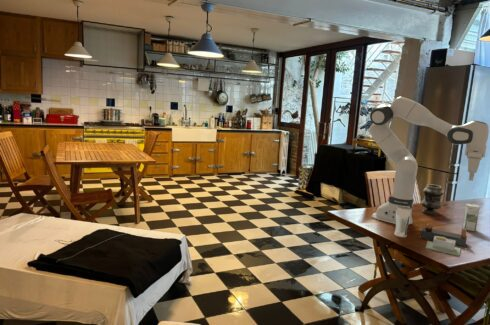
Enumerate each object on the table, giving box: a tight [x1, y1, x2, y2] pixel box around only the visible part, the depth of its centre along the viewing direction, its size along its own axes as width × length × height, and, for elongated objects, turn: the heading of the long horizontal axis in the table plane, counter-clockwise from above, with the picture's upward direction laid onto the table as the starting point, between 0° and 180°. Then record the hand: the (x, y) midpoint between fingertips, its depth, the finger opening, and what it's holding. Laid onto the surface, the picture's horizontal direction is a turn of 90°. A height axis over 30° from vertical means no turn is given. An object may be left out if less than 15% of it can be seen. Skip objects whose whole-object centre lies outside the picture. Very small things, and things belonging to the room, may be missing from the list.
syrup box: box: [462, 202, 480, 232], centre depth 202 cm, size 6×6×14 cm
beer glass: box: [393, 206, 411, 239], centre depth 186 cm, size 7×7×15 cm
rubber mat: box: [425, 240, 461, 257], centre depth 172 cm, size 14×10×1 cm
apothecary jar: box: [420, 183, 444, 216], centre depth 233 cm, size 12×12×18 cm
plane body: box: [419, 222, 468, 248], centre depth 183 cm, size 20×7×8 cm, turn 57°
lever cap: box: [432, 236, 456, 252], centre depth 171 cm, size 9×5×5 cm, turn 57°
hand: (470, 179), depth 187 cm, fingers open, 8 cm apart
